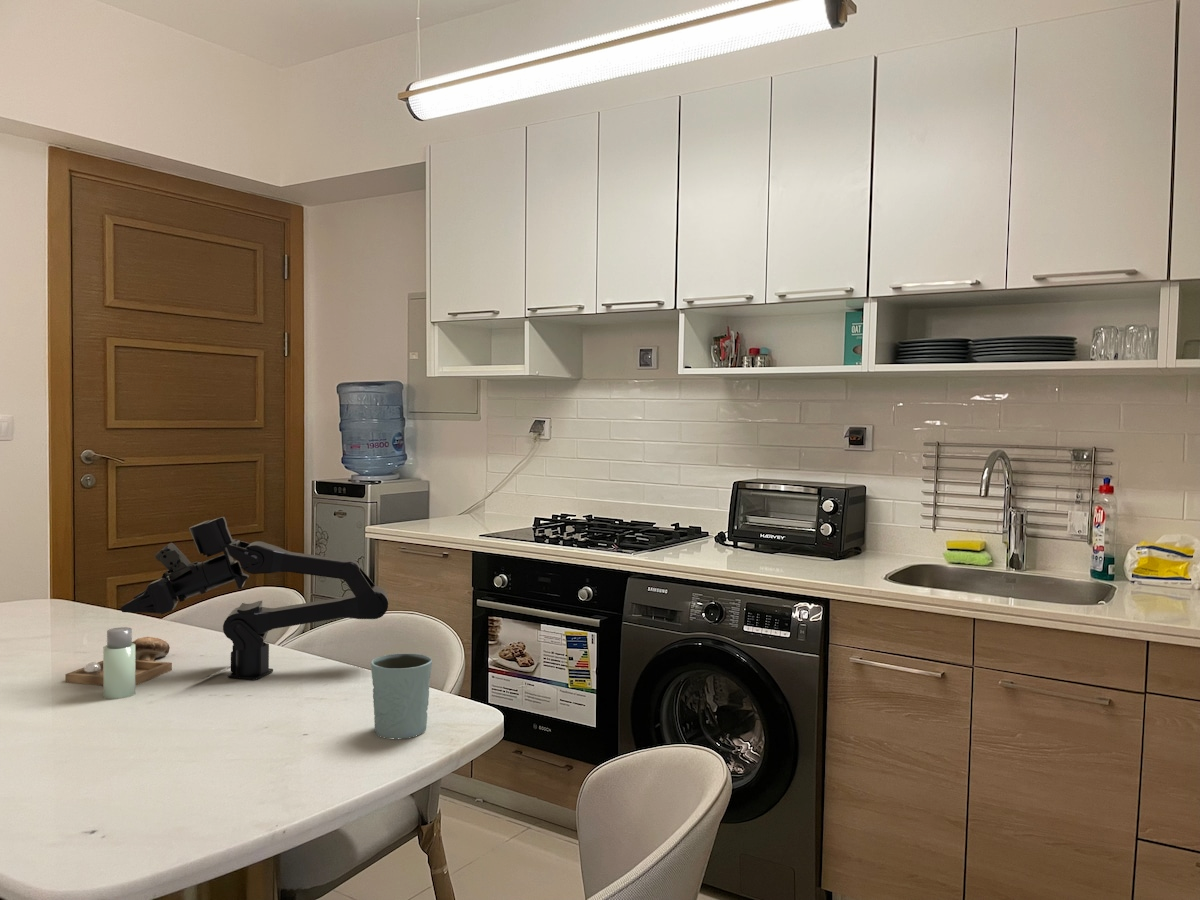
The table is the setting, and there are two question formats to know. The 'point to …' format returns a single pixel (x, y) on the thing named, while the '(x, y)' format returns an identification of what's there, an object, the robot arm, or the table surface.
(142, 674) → the tray
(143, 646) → the mushroom
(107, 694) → the disc
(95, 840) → the table surface
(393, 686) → the grey-green cup
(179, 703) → the table surface
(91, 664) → the ball
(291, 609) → the robot arm
